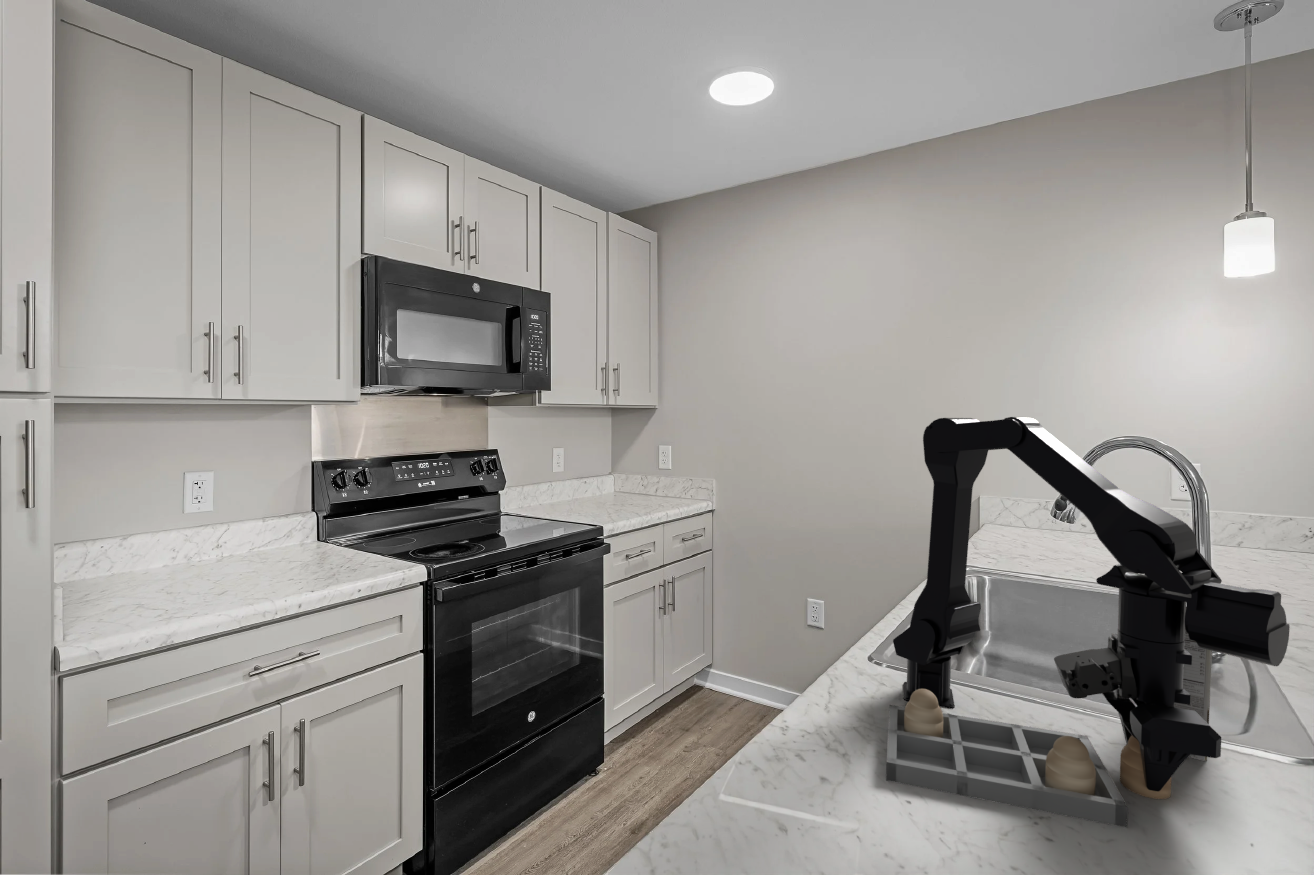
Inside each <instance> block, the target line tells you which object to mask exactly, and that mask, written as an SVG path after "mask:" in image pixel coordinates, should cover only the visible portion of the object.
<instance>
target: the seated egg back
mask: <svg viewBox="0 0 1314 875" xmlns="http://www.w3.org/2000/svg"><path fill="white" fill-rule="evenodd" d="M904 707H905V712H904V732H910V733H916V734H922V735H927V736H933V737H939V738H943V713H944V712H943V711H942V707H939V705H938V700H937V698H936V696H935V695H934V694H933V693H932V692H931V691H929V690H927V689H918V690H916V691H914V692H913V693H912V695H911V697H910V701H909V702H907V703H906V705H905V706H904Z"/></svg>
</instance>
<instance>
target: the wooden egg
mask: <svg viewBox="0 0 1314 875" xmlns="http://www.w3.org/2000/svg"><path fill="white" fill-rule="evenodd" d="M1119 766H1120V767H1119V782H1120V784H1121V785H1122V786H1123V787H1124V788H1125V789H1127V790H1128V791H1131V792H1132V793H1134V794H1136V795H1139V796H1143V797H1144V798H1145V797H1146V798H1149V799H1154V800H1167V799H1169V798H1170V797H1171V795H1172V776H1173V775H1172V776H1171V778H1170V779H1169V780H1168V782H1167V783H1166V784H1165V785H1164V787H1163V788H1162V789H1161V790H1160V791H1152V790H1148V789H1147V787H1146V784H1145V778H1144V772H1143V765H1142V759H1141V752H1140V745H1139V741H1138V740H1137V739H1136V738H1134V737H1133V736H1131V737H1130V738H1129V740H1128V744H1127V745H1126V744H1125V745H1124V746H1123V748H1122V750H1121V752H1120V762H1119Z"/></svg>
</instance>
